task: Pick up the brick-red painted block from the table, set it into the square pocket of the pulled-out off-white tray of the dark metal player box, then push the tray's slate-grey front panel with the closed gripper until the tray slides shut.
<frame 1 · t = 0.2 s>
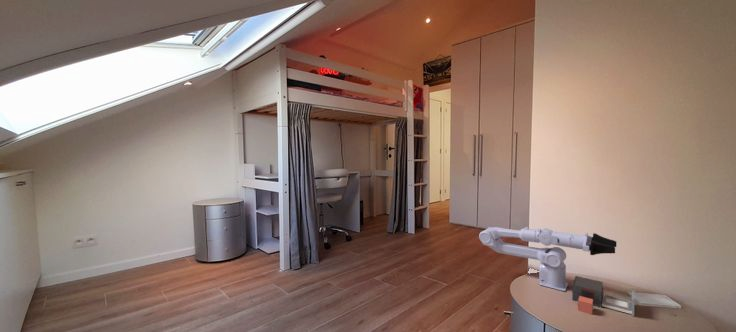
hand: (615, 247, 107), 21 cm above the table, tool horizontal, fingers open, 7 cm apart
player housing: (587, 298, 111), on the table
tray: (617, 298, 105), point 3 cm above the table, slide at 8.0 cm
block: (585, 310, 104), on the table
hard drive: (652, 302, 108), on the table
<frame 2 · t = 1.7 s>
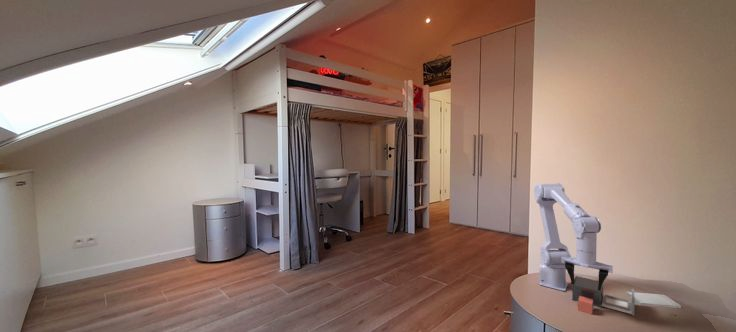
hand: (585, 286, 103), 9 cm above the table, tool pointing down, fingers open, 7 cm apart
nothing on the table moved.
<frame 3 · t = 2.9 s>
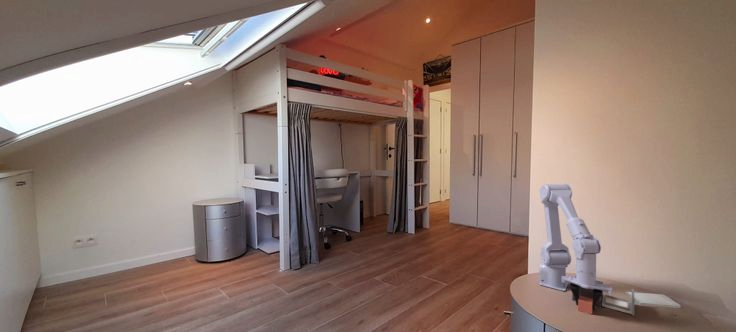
hand: (585, 306, 103), 1 cm above the table, tool pointing down, fingers closed on block, 4 cm apart
block: (585, 310, 104), on the table, touching gripper
everything else where it was.
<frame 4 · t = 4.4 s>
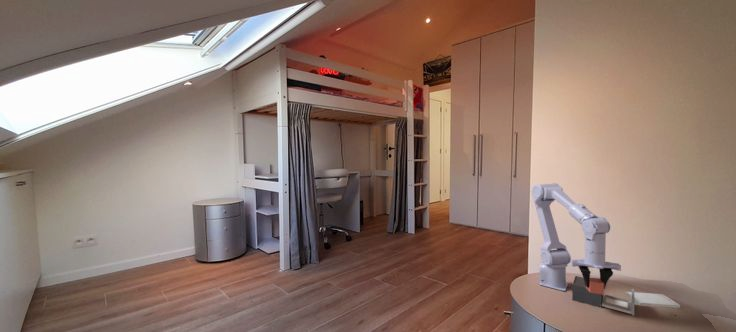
hand: (594, 286, 103), 8 cm above the table, tool pointing down, fingers closed on block, 4 cm apart
block: (594, 290, 103), point 7 cm above the table, touching gripper
everything else where it was.
when the fingers open (4 cm above the table, at t = 6.2 s): block drops 1 cm, resting on tray.
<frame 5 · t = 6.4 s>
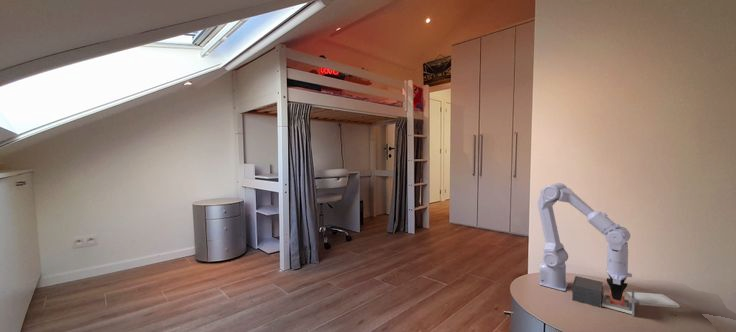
hand: (616, 295, 105), 4 cm above the table, tool pointing down, fingers open, 6 cm apart
tray: (617, 298, 105), point 3 cm above the table, slide at 8.0 cm, touching block
block: (616, 303, 105), point 1 cm above the table, touching tray
everything else where it was.
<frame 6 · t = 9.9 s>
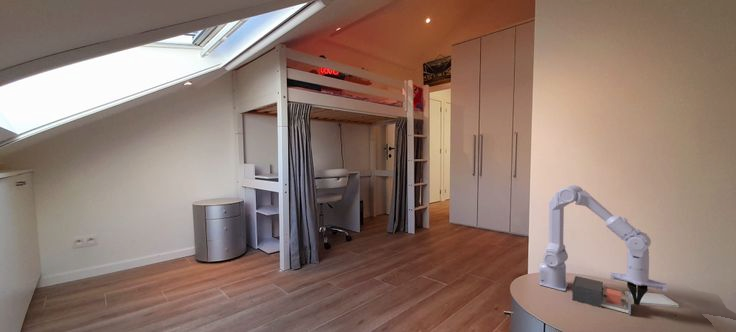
hand: (636, 303, 101), 3 cm above the table, tool pointing down, fingers closed
tray: (614, 297, 105), point 3 cm above the table, slide at 7.1 cm, touching block, gripper
everything else where it was.
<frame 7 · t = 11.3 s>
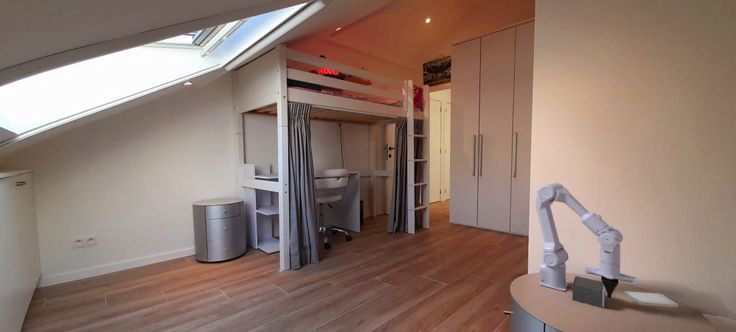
hand: (609, 296, 106), 3 cm above the table, tool pointing down, fingers closed
tray: (590, 291, 110), point 3 cm above the table, slide at -0.1 cm, touching block, gripper
block: (589, 296, 110), point 1 cm above the table, touching tray
everything else where it was.
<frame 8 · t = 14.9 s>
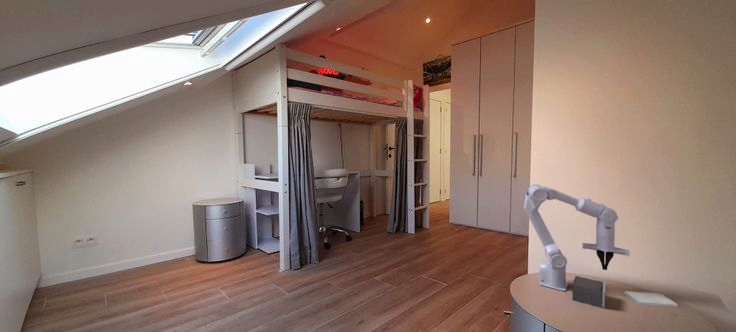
hand: (604, 269, 115), 9 cm above the table, tool pointing down, fingers closed
tray: (590, 291, 110), point 3 cm above the table, slide at 0.0 cm, touching block
everything else where it was.
at the end: tray slide at 0.0 cm; block inside the target area on the player housing (0.5 cm from its centre), point 1.1 cm above the player housing's base; block tilted 0° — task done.
